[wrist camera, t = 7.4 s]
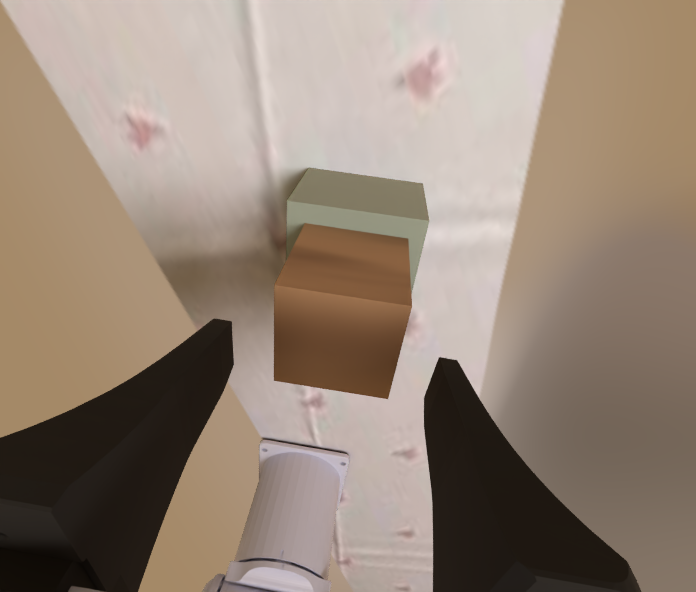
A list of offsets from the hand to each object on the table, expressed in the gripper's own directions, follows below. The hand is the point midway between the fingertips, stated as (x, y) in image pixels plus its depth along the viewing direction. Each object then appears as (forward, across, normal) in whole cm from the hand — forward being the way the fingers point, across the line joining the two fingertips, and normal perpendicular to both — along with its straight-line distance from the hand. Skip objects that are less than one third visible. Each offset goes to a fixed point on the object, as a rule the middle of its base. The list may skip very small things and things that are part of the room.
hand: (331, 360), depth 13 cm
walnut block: (+6, 0, 0) cm, 6 cm away
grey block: (+10, 0, 0) cm, 11 cm away
